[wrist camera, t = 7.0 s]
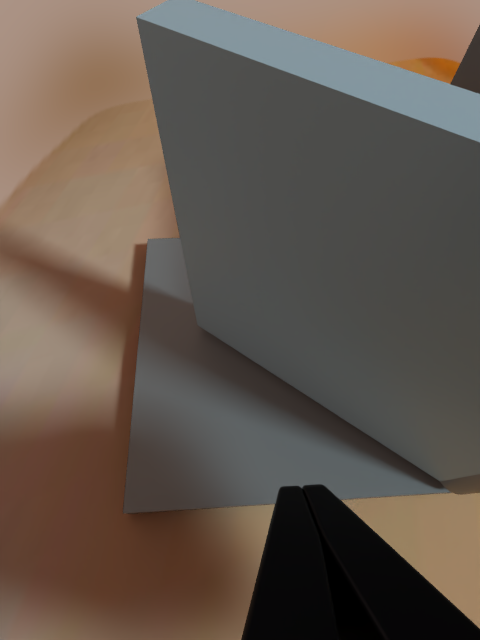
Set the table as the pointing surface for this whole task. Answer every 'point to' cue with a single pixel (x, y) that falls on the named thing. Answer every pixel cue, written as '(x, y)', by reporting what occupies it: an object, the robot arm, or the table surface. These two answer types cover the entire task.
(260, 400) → the grey box with dial
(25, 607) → the table surface
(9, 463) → the table surface
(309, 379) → the side door
